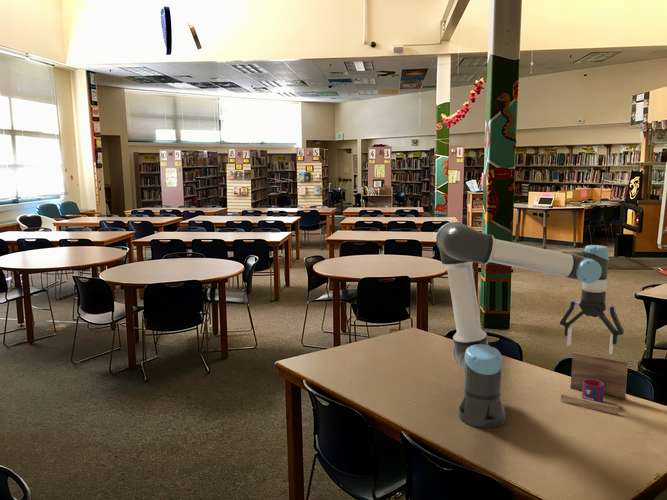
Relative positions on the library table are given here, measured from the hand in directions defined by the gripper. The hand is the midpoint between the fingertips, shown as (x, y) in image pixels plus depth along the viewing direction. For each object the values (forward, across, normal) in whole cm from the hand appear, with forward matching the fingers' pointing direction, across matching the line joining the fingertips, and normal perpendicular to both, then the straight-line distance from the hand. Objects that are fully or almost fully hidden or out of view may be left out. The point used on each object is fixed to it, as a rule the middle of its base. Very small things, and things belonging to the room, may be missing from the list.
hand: (589, 348), depth 184 cm
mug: (+19, -3, -2) cm, 19 cm away
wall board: (+19, -2, -8) cm, 21 cm away
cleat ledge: (+19, -2, +6) cm, 20 cm away
